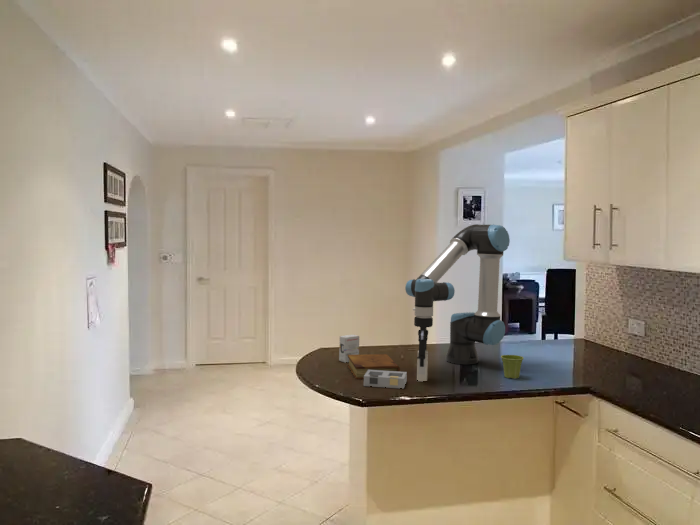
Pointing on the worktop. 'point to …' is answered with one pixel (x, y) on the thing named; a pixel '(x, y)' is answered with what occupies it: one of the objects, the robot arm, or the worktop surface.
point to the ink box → (348, 347)
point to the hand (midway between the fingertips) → (422, 372)
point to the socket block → (385, 379)
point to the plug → (421, 376)
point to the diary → (370, 364)
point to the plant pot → (512, 365)
